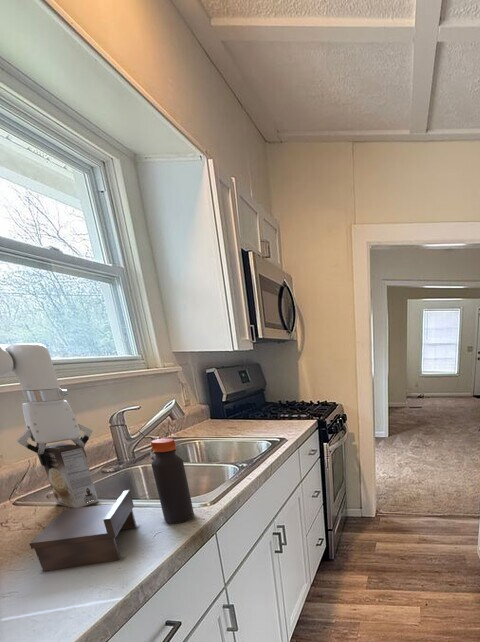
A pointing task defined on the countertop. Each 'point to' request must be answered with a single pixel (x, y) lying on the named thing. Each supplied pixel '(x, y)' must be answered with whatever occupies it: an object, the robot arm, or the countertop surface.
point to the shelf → (84, 535)
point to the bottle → (171, 482)
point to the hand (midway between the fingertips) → (65, 464)
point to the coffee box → (70, 475)
